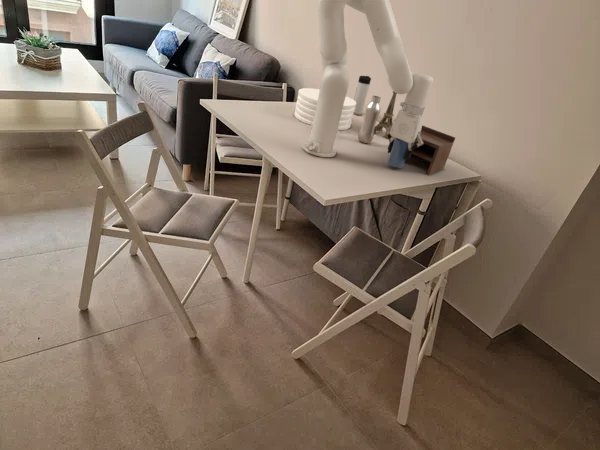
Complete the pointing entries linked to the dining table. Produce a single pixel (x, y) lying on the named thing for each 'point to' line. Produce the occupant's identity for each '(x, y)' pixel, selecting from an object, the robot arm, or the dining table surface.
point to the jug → (397, 153)
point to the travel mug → (361, 94)
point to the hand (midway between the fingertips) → (398, 155)
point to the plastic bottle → (370, 120)
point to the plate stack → (309, 102)
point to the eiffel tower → (387, 115)
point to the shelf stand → (433, 149)
